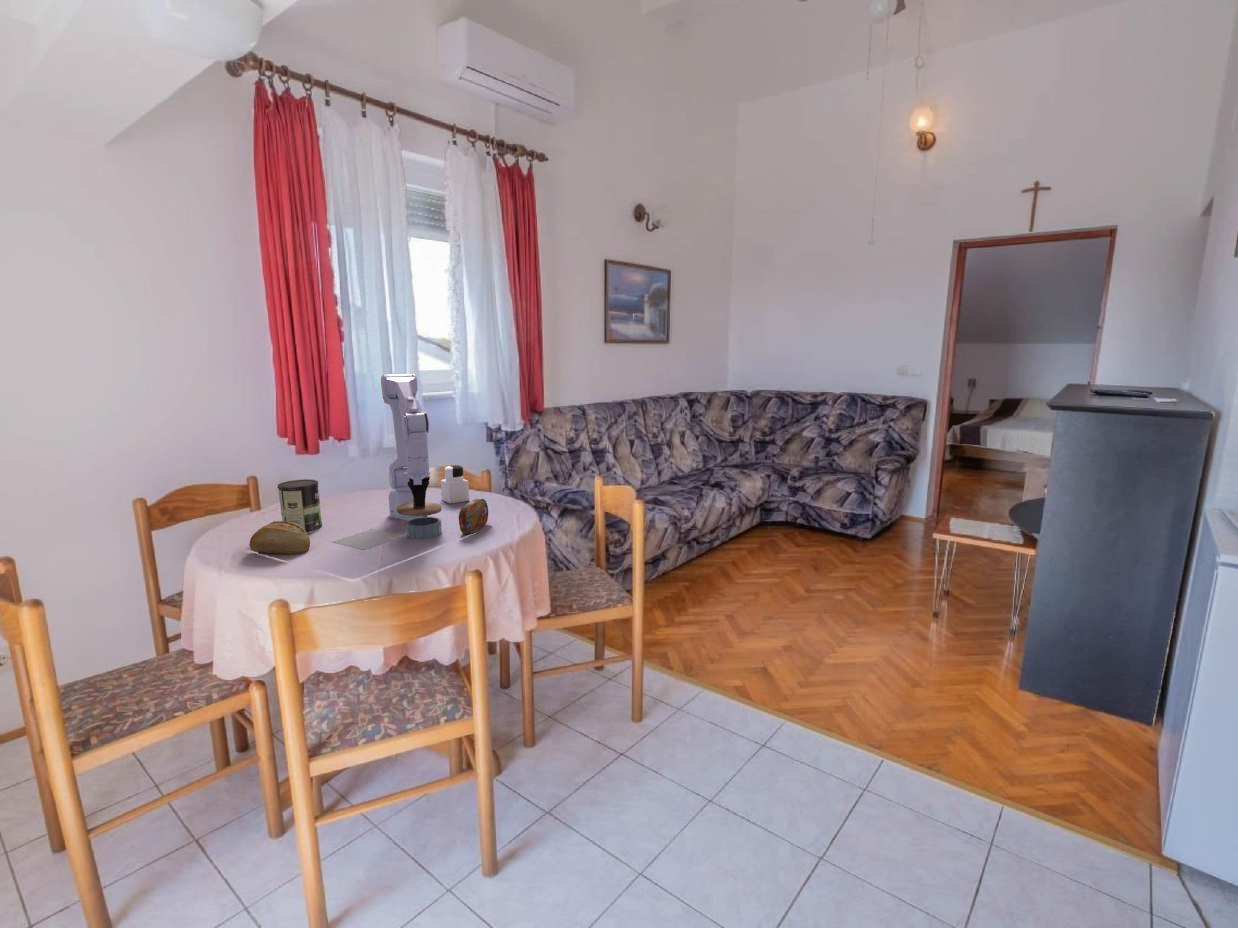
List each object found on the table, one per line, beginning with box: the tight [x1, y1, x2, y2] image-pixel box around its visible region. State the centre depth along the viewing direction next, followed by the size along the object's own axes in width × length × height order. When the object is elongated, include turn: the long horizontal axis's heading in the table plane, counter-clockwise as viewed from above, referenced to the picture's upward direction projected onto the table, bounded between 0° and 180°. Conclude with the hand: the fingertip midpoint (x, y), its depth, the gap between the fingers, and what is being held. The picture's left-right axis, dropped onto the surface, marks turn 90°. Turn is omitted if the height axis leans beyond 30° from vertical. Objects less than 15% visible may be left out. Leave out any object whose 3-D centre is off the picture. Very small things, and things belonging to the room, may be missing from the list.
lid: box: [397, 497, 443, 517], centre depth 171 cm, size 12×12×4 cm
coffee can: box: [277, 478, 323, 534], centre depth 175 cm, size 10×10×14 cm
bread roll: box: [249, 520, 311, 555], centre depth 158 cm, size 10×15×8 cm, turn 90°
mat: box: [332, 528, 404, 551], centre depth 168 cm, size 13×13×1 cm
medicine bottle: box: [440, 464, 470, 505], centre depth 209 cm, size 7×7×12 cm
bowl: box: [406, 516, 443, 540], centre depth 173 cm, size 9×9×4 cm
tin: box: [458, 498, 489, 535], centre depth 177 cm, size 15×3×8 cm, turn 168°
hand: (420, 504), depth 171 cm, fingers closed on lid, 3 cm apart
